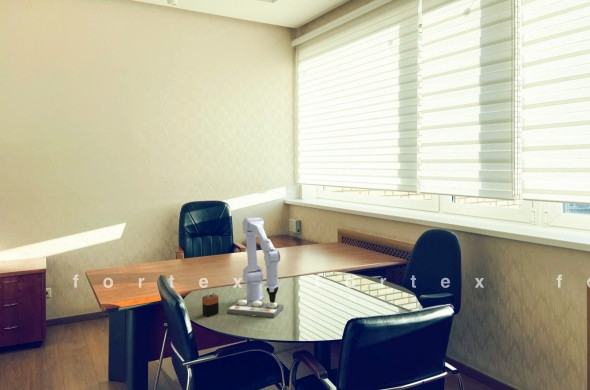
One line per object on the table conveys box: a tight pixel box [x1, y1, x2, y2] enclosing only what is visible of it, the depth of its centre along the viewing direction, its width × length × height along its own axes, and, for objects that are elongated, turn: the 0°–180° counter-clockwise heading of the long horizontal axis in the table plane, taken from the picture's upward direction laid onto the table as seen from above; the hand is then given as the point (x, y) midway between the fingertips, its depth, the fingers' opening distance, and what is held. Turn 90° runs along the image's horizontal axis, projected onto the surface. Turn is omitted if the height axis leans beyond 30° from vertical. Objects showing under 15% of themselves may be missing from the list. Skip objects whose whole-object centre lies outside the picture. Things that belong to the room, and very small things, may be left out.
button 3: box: [268, 301, 278, 309], centre depth 235 cm, size 4×4×2 cm
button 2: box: [253, 300, 263, 308], centre depth 237 cm, size 4×4×2 cm
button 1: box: [237, 299, 248, 306], centre depth 239 cm, size 4×4×2 cm
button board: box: [227, 301, 284, 319], centre depth 235 cm, size 14×24×2 cm, turn 73°
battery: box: [201, 292, 220, 318], centre depth 230 cm, size 4×7×10 cm, turn 135°
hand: (272, 302), depth 235 cm, fingers closed
